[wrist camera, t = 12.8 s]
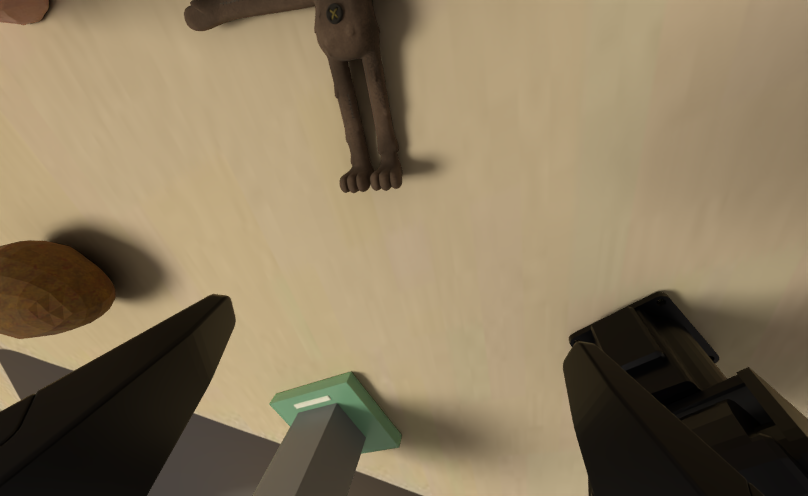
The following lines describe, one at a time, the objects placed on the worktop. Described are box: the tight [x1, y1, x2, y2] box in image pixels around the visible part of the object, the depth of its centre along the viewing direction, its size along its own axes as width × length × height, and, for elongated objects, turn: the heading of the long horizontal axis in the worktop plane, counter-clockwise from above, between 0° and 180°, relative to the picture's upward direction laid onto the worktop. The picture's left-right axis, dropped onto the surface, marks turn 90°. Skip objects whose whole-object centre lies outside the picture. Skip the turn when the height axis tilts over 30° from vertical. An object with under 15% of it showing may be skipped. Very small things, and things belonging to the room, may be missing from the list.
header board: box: [270, 372, 402, 454], centre depth 32 cm, size 10×9×3 cm
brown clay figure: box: [184, 0, 402, 193], centre depth 17 cm, size 18×4×14 cm
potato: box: [0, 241, 115, 339], centre depth 27 cm, size 8×12×8 cm, turn 95°
